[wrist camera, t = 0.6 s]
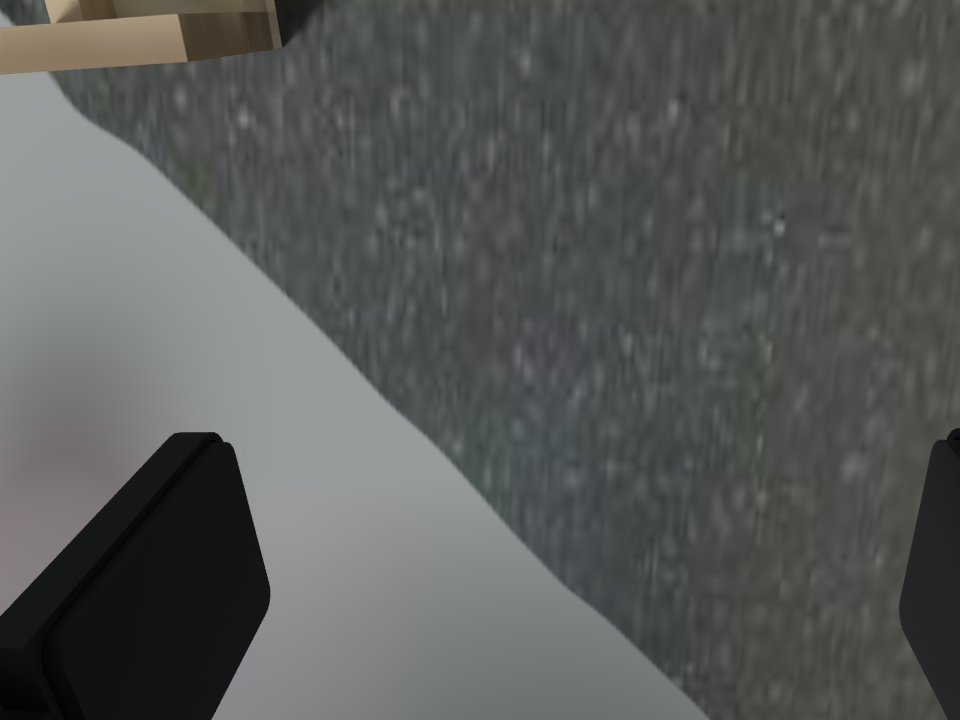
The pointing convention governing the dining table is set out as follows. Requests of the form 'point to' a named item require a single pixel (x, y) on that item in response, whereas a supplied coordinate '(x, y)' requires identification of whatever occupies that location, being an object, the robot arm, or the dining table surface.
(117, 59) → the track block
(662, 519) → the dining table surface
